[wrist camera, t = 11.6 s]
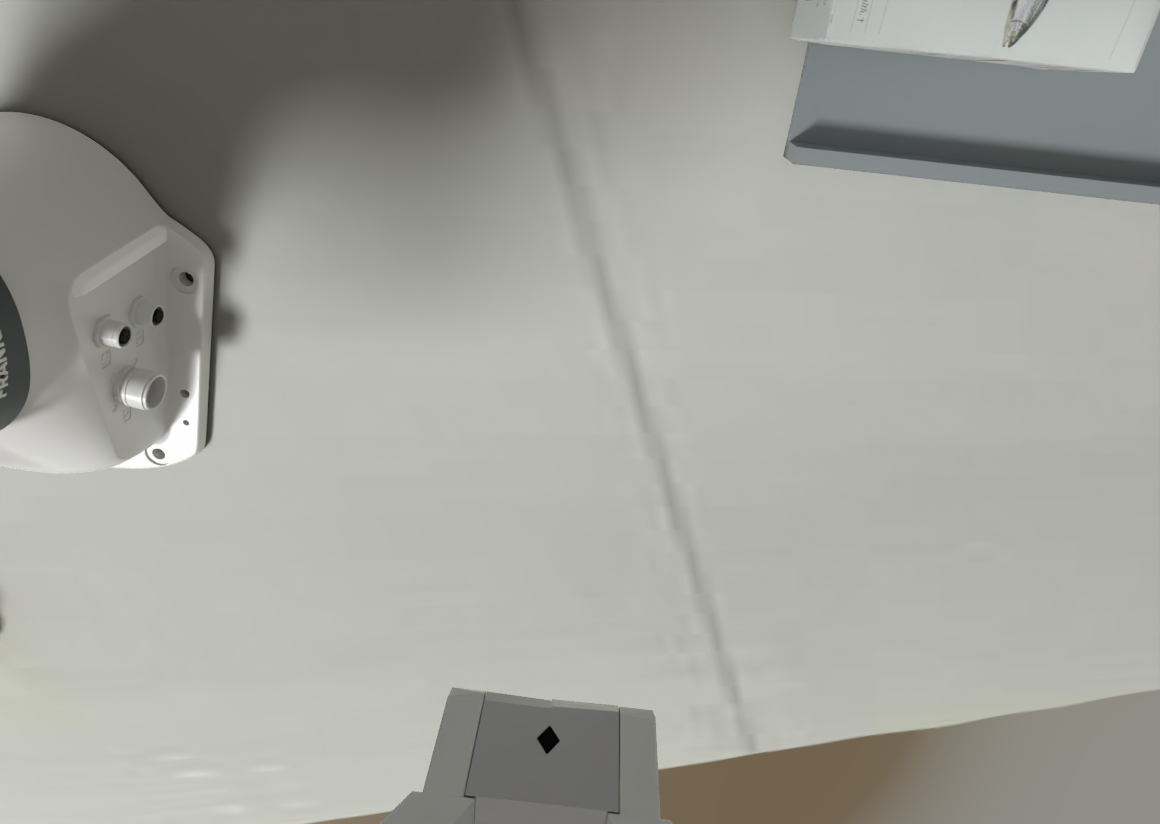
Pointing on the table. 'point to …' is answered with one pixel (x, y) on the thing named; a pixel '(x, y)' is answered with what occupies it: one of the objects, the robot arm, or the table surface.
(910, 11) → the supplement box
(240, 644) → the table surface
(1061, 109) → the tray
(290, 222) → the table surface
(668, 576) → the table surface
